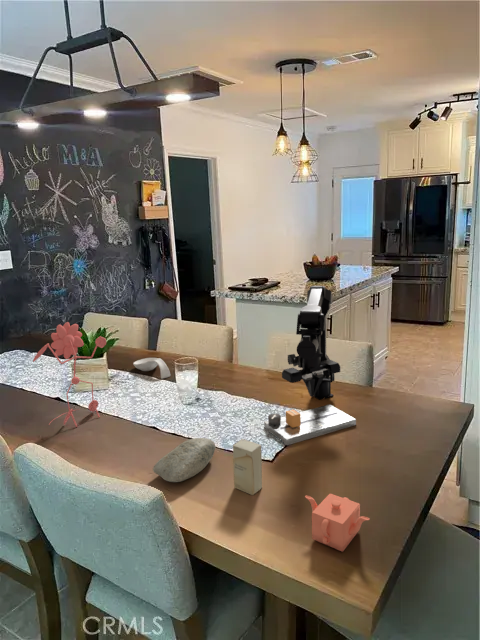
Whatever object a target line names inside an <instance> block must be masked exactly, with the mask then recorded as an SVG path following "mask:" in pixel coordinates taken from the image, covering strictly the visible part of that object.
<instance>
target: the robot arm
mask: <svg viewBox="0 0 480 640" xmlns="http://www.w3.org/2000/svg"><path fill="white" fill-rule="evenodd" d="M306 296H307V297H306V305H305V306H303V307H301V309H300V311H299V313H298V314H297V321H296V332H295V334H296V335H299V336H300V335H301V338H300V340H299V342H298V344H297V347H296V353H297V355H296V354H295V353H292V354H287V363H288V365H292V366H293V367H291V368H285V369H283V370H282V372H281V378H282V379H283V380H285V381H287V382H289V383H291V384H293V383H294V384H295V383H299V382H301V381H302V382H303V383H304V385H305V387H306V389H307V392H308V395H309V397H312V398H313V397H314V398H315V399H317V400H319V401H320V400H324V399H327V398H332V397H334V394H333V393H332V392H331V389H332V387H331V383H333V382H335V380H336V378H335V374H338V373H340V372H341V365H340V363H339V362H337V361H334V360H332V359H330V357H329V356H328V355H327V314H328V312H329V311H330V309H331V306H332V305H333V291H332V290H330V289H328V288H326V286H324V285H311V286H309V289H308V290H307V295H306ZM297 366H298V368H300V369H297V368H294V367H297Z"/></svg>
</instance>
